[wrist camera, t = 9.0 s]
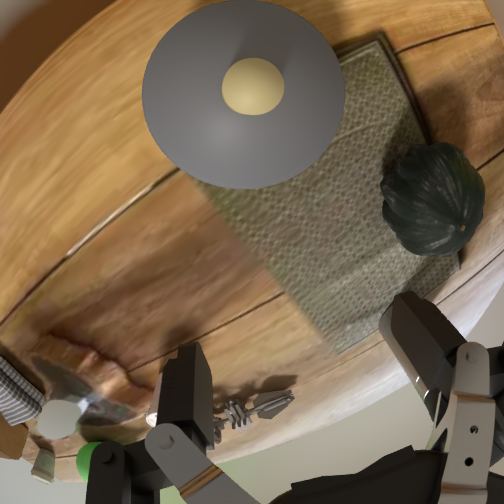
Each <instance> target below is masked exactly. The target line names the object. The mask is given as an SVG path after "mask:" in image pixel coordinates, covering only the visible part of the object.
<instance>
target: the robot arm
mask: <svg viewBox="0 0 504 504" xmlns="http://www.w3.org/2000/svg"><path fill="white" fill-rule="evenodd" d="M379 331H380V333H381V335H382V336H383V338H384V340H385V341H386V342H387V344H388V345H389V347H390V349H391V350H392V352H393V353H394V355H395V356H396V358H397V360H398V361H399V363H400V364H401V366H402V368H403V369H404V371H405V372H406V374H407V376H408V377H409V379H410V380H411V382H412V384H413V385H414V387H415V389H416V390H417V392H418V394H419V395H420V397H421V398H422V400H423V402H424V404H425V405H426V407H427V409H428V411H429V414H430V416H431V419H432V421H433V422H434V424H433V429H432V433H431V436H430V438H429V441H428V443H427V445H426V448H425V450H415V451H414V450H413V447H412V445H410V446H407V447H405V448H403V449H400V450H398V451H396V452H393V453H391V454H388V455H386V456H384V457H382V458H381V459H379V460H378V461H376V462H375V463H373V464H372V465H370V466H368V467H367V468H365V469H364V470H362V471H360V472H358V473H356V474H349V475H348V474H347V475H334V476H321V477H317V478H313V479H309V480H305V481H300V482H296V483H291V487H292V489H291V490H289V491H287V492H285V493H283V494H281V495H279V496H278V497H276V498H275V499H274V500H273V501H271V502H270V503H269V504H504V476H502V475H499V474H496V473H493V472H490V471H489V468H490V467H491V466H493V465H494V464H495V463H496V462H498V461H499V460H500V459H501V458H502V457H504V342H503V344H502V346H499V347H493V348H488V349H486V348H485V347H484V346H482V345H481V344H479V343H476V342H467V341H466V340H465V339H464V337H463V336H462V335H461V334H460V333H459V331H458V330H457V329H456V328H455V327H454V326H453V325H452V323H451V322H450V321H449V320H447V318H446V317H445V316H444V314H443V313H441V311H440V310H439V309H438V308H437V307H436V306H435V304H433V303H431V302H429V301H428V300H426V299H422V298H419V297H418V296H417V295H416V294H415V293H414V292H413V291H407V292H404V293H401V294H398V295H395V296H394V300H393V305H392V306H391V307H389V308H388V309H387V311H386V312H385V313H384V315H383V316H382V318H381V320H380V323H379ZM160 390H161V391H160V395H159V403H158V411H157V420H156V425H155V427H153V428H152V429H151V430H150V431H149V432H148V433H147V435H146V438H145V439H143V440H141V441H138V442H135V443H132V444H129V445H126V446H121V445H120V444H118V443H117V442H114V441H105V442H102V443H100V444H98V445H97V446H96V447H95V448H94V450H93V451H92V454H91V459H90V466H89V474H88V483H87V492H86V504H160V489H163V488H167V487H170V486H173V485H174V486H175V487H176V488H177V489H178V490H179V492H180V495H181V497H182V498H183V500H184V501H185V502H186V503H187V504H260V503H259V502H258V501H256V500H255V499H254V498H253V497H252V496H251V495H249V494H248V493H247V492H246V491H245V490H243V489H242V488H241V487H240V486H239V485H238V484H237V483H235V482H234V481H233V480H232V479H231V478H230V477H229V476H228V475H226V474H225V473H224V472H223V471H222V470H221V469H220V468H219V467H217V466H216V465H215V464H214V463H212V462H211V461H210V460H209V459H208V458H207V457H206V450H214V425H213V390H212V375H211V370H210V367H209V365H208V362H207V360H206V358H205V355H204V353H203V351H202V348H201V346H200V344H199V342H193V343H187V344H180V345H179V348H178V356H177V358H175V359H169V361H168V362H167V364H166V366H165V367H164V369H163V373H162V382H161V388H160Z"/></svg>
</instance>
